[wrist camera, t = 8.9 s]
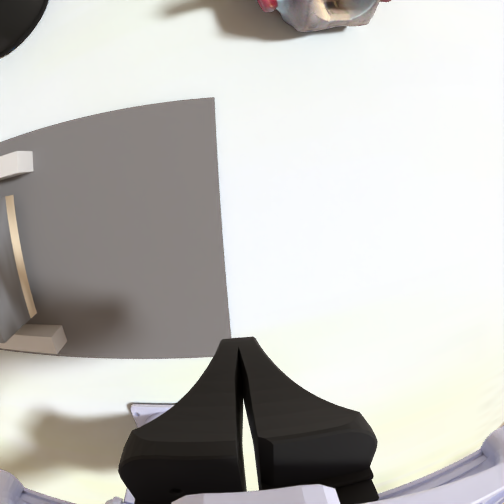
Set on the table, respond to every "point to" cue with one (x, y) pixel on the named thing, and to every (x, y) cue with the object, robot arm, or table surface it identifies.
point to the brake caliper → (322, 12)
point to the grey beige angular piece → (12, 275)
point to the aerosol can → (18, 21)
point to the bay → (121, 233)
